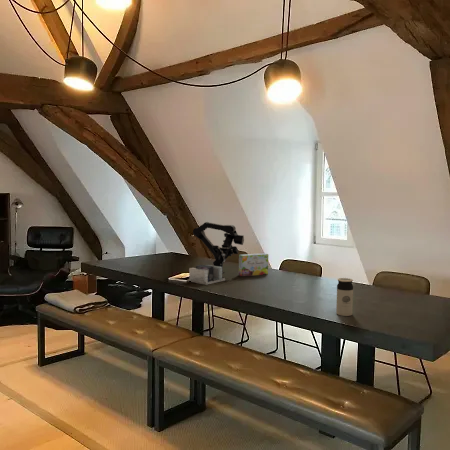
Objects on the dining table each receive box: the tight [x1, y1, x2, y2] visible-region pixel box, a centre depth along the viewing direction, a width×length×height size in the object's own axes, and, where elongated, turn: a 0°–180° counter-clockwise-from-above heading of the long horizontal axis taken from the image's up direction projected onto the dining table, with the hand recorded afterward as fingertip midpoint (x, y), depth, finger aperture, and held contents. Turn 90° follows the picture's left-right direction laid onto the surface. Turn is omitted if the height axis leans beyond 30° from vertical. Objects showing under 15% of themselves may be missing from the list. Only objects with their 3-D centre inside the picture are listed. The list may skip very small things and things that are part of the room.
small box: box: [195, 264, 214, 282], centre depth 334 cm, size 11×6×10 cm, turn 61°
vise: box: [187, 267, 226, 285], centre depth 335 cm, size 19×17×9 cm
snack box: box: [238, 252, 269, 277], centre depth 357 cm, size 21×6×15 cm, turn 114°
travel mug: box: [336, 277, 354, 317], centre depth 253 cm, size 8×8×18 cm
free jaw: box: [207, 264, 223, 280], centre depth 340 cm, size 3×13×9 cm, turn 49°
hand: (221, 259), depth 349 cm, fingers open, 5 cm apart
